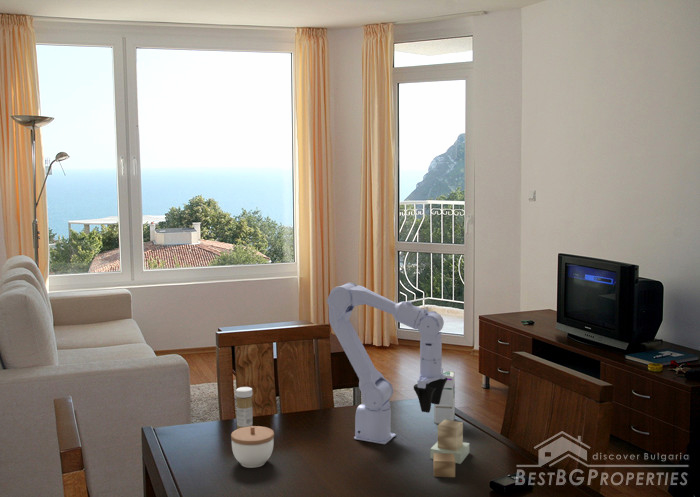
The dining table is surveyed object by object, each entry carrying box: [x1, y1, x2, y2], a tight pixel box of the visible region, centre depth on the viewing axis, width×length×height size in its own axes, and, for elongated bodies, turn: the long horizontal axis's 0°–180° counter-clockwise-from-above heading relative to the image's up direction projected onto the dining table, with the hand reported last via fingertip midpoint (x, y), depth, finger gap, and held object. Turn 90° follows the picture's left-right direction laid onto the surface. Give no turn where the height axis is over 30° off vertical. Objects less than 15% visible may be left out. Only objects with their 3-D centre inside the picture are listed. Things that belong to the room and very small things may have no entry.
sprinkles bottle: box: [235, 386, 254, 430], centre depth 192 cm, size 5×5×14 cm
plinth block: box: [429, 440, 470, 465], centre depth 179 cm, size 8×8×3 cm
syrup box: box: [433, 370, 456, 425], centre depth 205 cm, size 6×6×14 cm
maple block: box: [437, 420, 464, 451], centre depth 178 cm, size 5×5×6 cm
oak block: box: [432, 453, 456, 478], centre depth 168 cm, size 5×5×4 cm
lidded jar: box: [230, 425, 275, 469], centre depth 173 cm, size 11×11×9 cm
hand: (430, 407), depth 185 cm, fingers open, 7 cm apart
